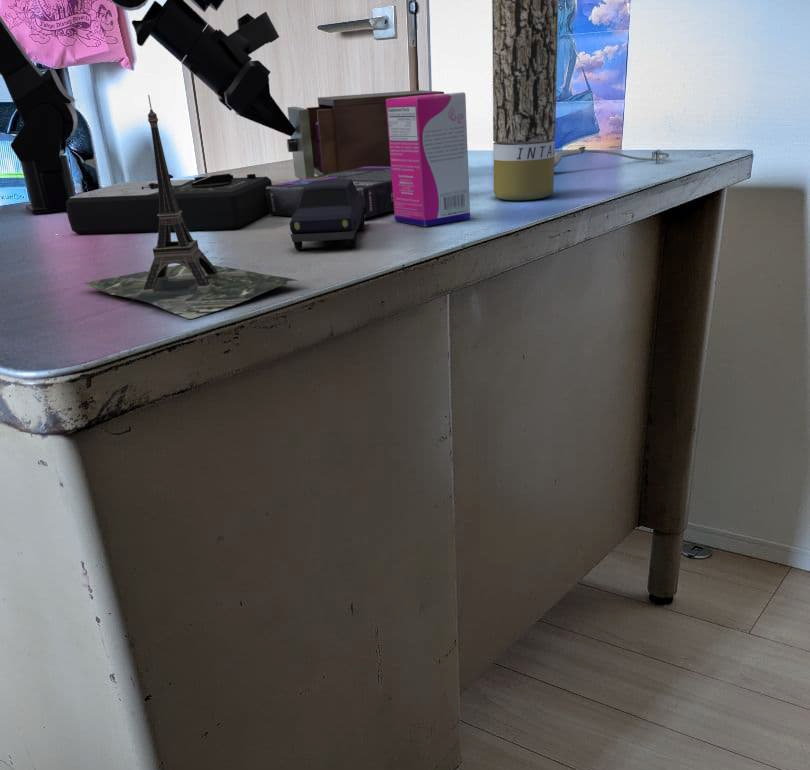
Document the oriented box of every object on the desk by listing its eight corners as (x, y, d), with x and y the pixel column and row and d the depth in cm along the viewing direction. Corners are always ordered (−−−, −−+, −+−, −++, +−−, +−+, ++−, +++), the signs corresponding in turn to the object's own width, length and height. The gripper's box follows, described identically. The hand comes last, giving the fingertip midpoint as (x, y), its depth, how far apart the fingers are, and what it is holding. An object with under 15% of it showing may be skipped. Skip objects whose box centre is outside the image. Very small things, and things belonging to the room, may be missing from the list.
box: (372, 194, 111) (266, 216, 97) (369, 165, 110) (262, 182, 96) (463, 196, 104) (363, 219, 90) (463, 164, 102) (360, 183, 88)
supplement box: (438, 213, 92) (433, 92, 86) (471, 219, 87) (469, 92, 82) (392, 221, 89) (384, 96, 84) (424, 227, 85) (418, 96, 79)
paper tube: (481, 199, 99) (477, -65, 87) (520, 191, 103) (522, -63, 91) (526, 203, 94) (529, -76, 82) (566, 195, 98) (574, -73, 86)
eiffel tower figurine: (304, 288, 65) (281, 86, 58) (190, 319, 58) (150, 97, 52) (190, 267, 74) (160, 91, 67) (81, 292, 68) (36, 101, 61)
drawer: (297, 185, 113) (289, 110, 109) (286, 176, 123) (278, 107, 119) (406, 175, 116) (402, 102, 112) (386, 167, 126) (382, 100, 121)
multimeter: (240, 229, 90) (232, 178, 87) (70, 235, 93) (58, 185, 91) (277, 209, 101) (271, 163, 99) (124, 215, 104) (115, 170, 102)
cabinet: (340, 189, 114) (333, 99, 109) (325, 179, 125) (317, 97, 120) (446, 179, 117) (444, 91, 112) (422, 170, 128) (419, 90, 123)
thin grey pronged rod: (659, 182, 124) (529, 180, 119) (660, 157, 124) (529, 153, 119) (680, 174, 119) (545, 171, 114) (681, 147, 118) (545, 143, 114)
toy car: (290, 254, 77) (283, 194, 74) (313, 226, 89) (307, 174, 87) (356, 251, 76) (351, 190, 74) (369, 223, 89) (365, 170, 86)
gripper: (239, -20, 98) (344, 82, 106) (228, -7, 114) (319, 81, 122) (182, 63, 101) (288, 158, 108) (179, 65, 117) (271, 147, 124)
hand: (293, 133), depth 115 cm, fingers closed, pressing on drawer
